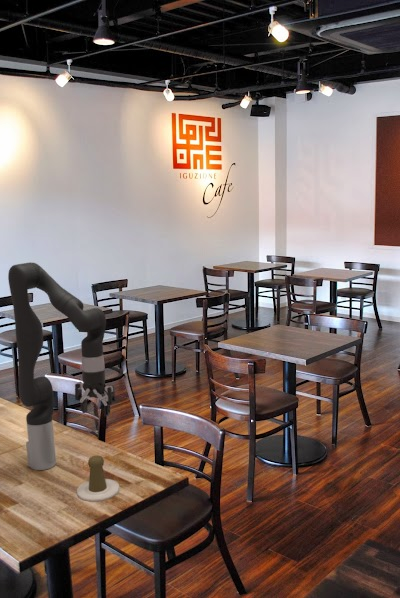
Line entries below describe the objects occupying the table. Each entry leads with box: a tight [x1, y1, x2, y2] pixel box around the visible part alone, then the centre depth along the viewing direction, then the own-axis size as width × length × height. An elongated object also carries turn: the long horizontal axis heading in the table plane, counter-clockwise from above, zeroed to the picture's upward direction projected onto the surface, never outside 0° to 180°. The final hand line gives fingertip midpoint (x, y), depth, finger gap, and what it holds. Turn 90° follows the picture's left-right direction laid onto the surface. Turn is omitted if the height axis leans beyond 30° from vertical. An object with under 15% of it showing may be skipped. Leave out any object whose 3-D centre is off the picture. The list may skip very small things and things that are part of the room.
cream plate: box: [76, 478, 120, 502], centre depth 206 cm, size 14×14×1 cm
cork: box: [87, 455, 107, 492], centre depth 205 cm, size 6×6×11 cm
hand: (95, 413), depth 209 cm, fingers open, 8 cm apart
